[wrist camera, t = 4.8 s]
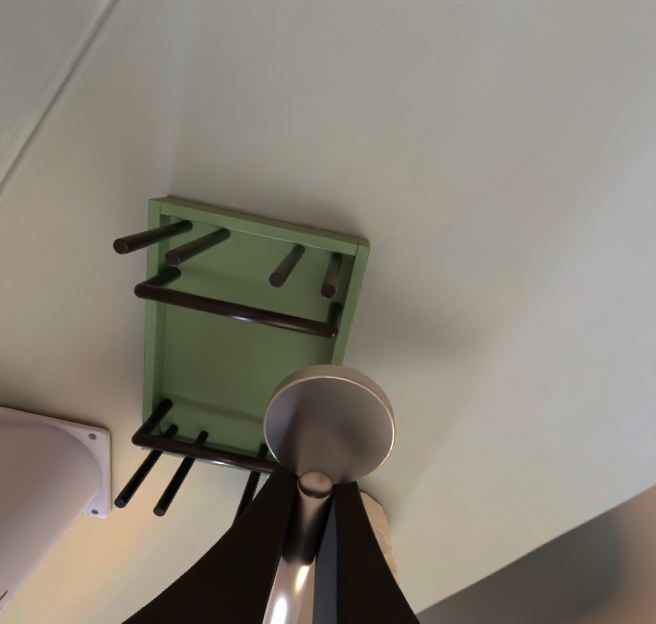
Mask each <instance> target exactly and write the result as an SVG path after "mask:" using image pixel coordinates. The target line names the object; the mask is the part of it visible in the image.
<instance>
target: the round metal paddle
mask: <svg viewBox="0 0 656 624" xmlns="http://www.w3.org/2000/svg"><path fill="white" fill-rule="evenodd" d="M263 431H264V436H265V440H266V443H267V445H268V448H269V449H270V451H271V453H272V454H273V456H274V457H275V459H276V460H277V461H278V462H279V463H280V464H281V465H282V466H283V467H285V468H286V469H287V470H288V471H290V472H292V473H293V474H295V475H297V476H299V478H298V481H297V488H296V492H295V497H294V501H293V506H292V510H291V515H290V519H289V524H288V529H287V533H286V538H285V542H284V547H283V551H282V555H281V559H280V562H279V566H278V571H277V575H276V580H275V584H274V589H273V593H272V598H271V602H270V607H269V611H268V616H267V620H266V624H297V621H298V617H299V614H300V610H301V606H302V603H303V599H304V595H305V591H306V588H307V584H308V580H309V577H310V573H311V569H312V566H313V562H314V558H315V554H316V551H317V547H318V543H319V540H320V536H321V532H322V529H323V525H324V521H325V517H326V514H327V510H328V506H329V503H330V499H331V495H332V492H333V487H334V484H345V483H350V482H354V481H357V480H360V479H362V478H365V477H366V476H368V475H370V474H372V473H373V472H374V471H376V470H377V469H378V468H379V467H380V466H381V465H382V464H383V463H384V462H385V461H386V459H387V458H388V456H389V454H390V453H391V450H392V448H393V445H394V441H395V422H394V414H393V410H392V406H391V404H390V401H389V399H388V397H387V396H386V394H385V393H384V391H383V390H382V389H381V388H380V386H379V385H377V384H376V383H375V382H374V381H373V380H372V379H370V378H369V377H368V376H366V375H364V374H363V373H361V372H359V371H356V370H354V369H352V368H348V367H345V366H339V365H329V364H324V365H315V366H310V367H307V368H303V369H301V370H299V371H297V372H294V373H293V374H291V375H290V376H288V377H287V378H285V379H284V380H283V381H282V382H281V383H280V384H279V385H278V386H277V388H276V389H275V391H274V392H273V394H272V396H271V398H270V401H269V403H268V406H267V408H266V411H265V415H264V420H263Z"/></svg>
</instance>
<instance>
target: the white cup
mask: <svg viewBox="0 0 656 624" xmlns="http://www.w3.org/2000/svg"><path fill="white" fill-rule="evenodd" d="M360 494H361V497H362V500H363V504H364V507H365V509H366V512H367V515H368V518H369V521H370V523H371V526H372V529H373V531H374V534H375V536H376V539H377V541H378V543H379V546H380V548H381V551H382V553H383V555H384V557H385V559H386V562H387V564H388V566H389V568H390V570H391V572H392V574H393V576H394V578H395V580H396V582H397V584H398V586H399V582H398V578H397V569H396V563H395V558H394V554H393V550H392V545H391V537H390V530H389V523H388V520H387V518H386V516H385V513H384V511H383V508H382V506H381V505H380V504H378V503H377V502H376V501H375V500H373V499H372V498H371V497H370V496H369V495H367V494H366V493H363V492H360ZM314 575H315V558H314V562H313V566H312V569H311V573H310V577H309V580H308V584H307V588H306V591H305V595H304V599H303V603H302V606H301V610H300V614H299V617H298V621H297V624H312V618H313V597H314Z"/></svg>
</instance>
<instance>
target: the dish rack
mask: <svg viewBox="0 0 656 624" xmlns="http://www.w3.org/2000/svg"><path fill="white" fill-rule="evenodd" d="M192 228H193V225H192V223H191V222H190V221H188V220H184V221H180V222H177V223H173V224H169V225H166V226H162V227H159V228H155V229H152V230H148V231H144V232H141V233H137V234H134V235H130V236H126V237H123V238H119V239H116V240H115V241H114V244H113V247H114V249H115V251H116V252H117V253H119V254H127V253H130V252H133V251H135V250H138V249H141V248H144V247H147V246H150V245H152V244H155V243H158V242H161V241H164V240H167V239H169V238H172V237H175V236H178V235H181V234H183V233H186V232H189V231H191V230H192ZM229 237H230V232H229V230H228V229H226V228H222V229H220V230H217V231H215V232H212V233H210V234H208V235H205V236H203V237H200V238H198V239H196V240H193V241H191V242H188V243H186V244H184V245H181V246H179V247H176V248H174V249H172V250H169V251H168V252H167V253H166V255H165V259H166V261H167V263H168V264H170V265H172V266H176V265H178V264H180V263H182V262H184V261H186V260H188V259H190V258H192V257H194V256H196V255H198V254H200V253H202V252H204V251H205V250H207V249H209V248H211V247H213V246H215V245H217V244H219V243H221V242H223V241H225V240H227V239H228V238H229ZM304 252H305V248H304V247H303V246H302V245H300V244H298V245H296V246H295V247H294V248H293V249H292V250H291V251H290V253H289V254H288V255H287V256H286V257H285V259H284V260H283V261H282V262H281V263H280V264H279V266H278V267H277V268H276V269H275V270H274V272H273V273H272V274H271V275H270V277H269V283H270V284H271V285H272V286H273V287H275V288H280V287H282V286H283V285H284V283H285V282H286V280H287V279H288V277H289V275H290V274H291V272H292V271H293V269H294V268H295V266H296V265H297V263H298V262H299V260H300V259H301V257H302V256H303V254H304ZM341 263H342V256H341V254H340V253H333V254H332V255H331V258H330V261H329V265H328V268H327V271H326V274H325V278H324V281H323V284H322V287H321V295H322V296H323V297H324V298H326V299H331V298H333V297H334V296H335V295H336V292H337V286H338V280H339V274H340V269H341ZM180 276H181V271H180V269H179V268H177V267H171V268H169V269H167V270H165V271H163V272H161V273H159V274H157V275H155V276H153V277H151V278H149V279H147V280H145V281H143V282H142V283H140V284H138V285H136V286H135V288H134V293H135V295H136V296H137V297H139V298H142V299H147V300H152V301H156V302H161V303H166V304H170V305H175V306H179V307H184V308H189V309H193V310H198V311H203V312H207V313H212V314H216V315H221V316H226V317H230V318H235V319H240V320H244V321H249V322H253V323H258V324H263V325H267V326H272V327H277V328H281V329H286V330H290V331H295V332H300V333H304V334H309V335H314V336H318V337H323V338H327V339H334V338H336V337H337V336H338V334H339V326H340V318H341V309H342V307H341V304H340V303H338V302H332V303H331V304H330V305H329V309H328V313H327V318H326V323H325V322H320V321H315V320H311V319H306V318H301V317H297V316H292V315H288V314H283V313H278V312H274V311H269V310H264V309H260V308H255V307H251V306H246V305H241V304H237V303H232V302H227V301H223V300H218V299H214V298H209V297H204V296H200V295H195V294H190V293H186V292H181V291H177V290H172V289H167V288H163V287H165V286H167V285H168V284H170V283H172V282H173V281H175V280H177V279H178V278H180ZM172 407H173V403H172V401H171V400H169V399H165V400H163V401H162V402H161V403H160V405H159V406H158V407H157V408H156V409H155V411H154V412H153V413H152V414H151V415H150V416H149V418H148V419H147V420H146V421H145V422H144V423H143V425H142V426H141V427H140V428H139V429H138V431H137V432H136V433H135V434H134V435H133V437H132V443H133V444H134V445H136V446H140V447H145V448H150V449H152V451H151V452H150V453H149V455H148V456H147V458H146V459H145V460H144V462H143V463H142V464H141V466H140V467H139V468H138V470H137V471H136V472H135V474H134V475H133V477H132V478H131V479H130V481H129V482H128V483H127V485H126V486H125V487H124V489H123V490H122V491H121V493H120V494H119V495H118V497H117V498H116V500H115V501H114V504H115V505H116V506H117V507H118V508H124V507H125V506H126V505H127V503H128V502H129V501H130V499H131V498H132V496H133V495H134V493H135V492H136V490H137V489H138V488H139V486H140V485H141V483H142V482H143V480H144V479H145V477H146V476H147V475H148V473H149V472H150V470H151V469H152V467H153V466H154V465H155V463H156V462H157V460H158V459H159V457H160V456H161V454H162V453H163V452H168V453H173V454H178V455H182V456H186V457H185V458H184V460H183V462H182V463H181V465H180V467H179V468H178V470H177V471H176V473H175V475H174V476H173V478H172V480H171V481H170V483H169V485H168V486H167V488H166V490H165V491H164V493H163V495H162V496H161V498H160V500H159V501H158V503H157V505H156V506H155V508H154V510H153V512H154V514H155V515H157V516H163V515H165V513H166V511H167V509H168V508H169V506H170V504H171V502H172V500H173V499H174V497H175V495H176V493H177V492H178V490H179V488H180V486H181V484H182V483H183V481H184V479H185V477H186V476H187V474H188V472H189V470H190V468H191V467H192V465H193V463H194V461H195V460H196V459H201V460H206V461H210V462H215V463H219V464H224V465H229V466H233V467H238V468H243V469H247V470H251V473H250V476H249V479H248V482H247V484H246V487H245V490H244V493H243V496H242V498H241V501H240V504H239V507H238V510H237V513H236V515H235V518H234V521H233V524H234V523H235V522H236V521H237V519H238V518H239V517H240V516H241V514H242V513H243V512H244V511H245V509H246V508H247V507H248V506H249V504H250V503H251V502H252V500H253V497H254V494H255V491H256V488H257V485H258V481H259V478H260V475H261V473H266V474H271V473H272V472H273V470H274V468H275V467H276V465H277V463H278V462H276V461H272V460H267V459H266V456H267V453H268V450H269V448H268V445H266V444H262V445H261V446H260V448H259V451H258V453H257V456H256V457H253V456H248V455H244V454H239V453H235V452H230V451H225V450H221V449H216V448H211V447H207V446H203V445H204V444H205V442H206V440H207V438H208V436H209V434H208V433H207V432H206V431H201V432H200V433H199V435H198V437H197V438H196V440H195V442H194V443H188V442H183V441H179V440H174V439H173V437H174V436H175V434H176V433H177V431H178V426H177V425H175V424H172V425H170V426H169V428H168V429H167V430H166V432H165V433H164V435H163V436H162V437H160V436H156V435H151V433H152V432H153V431H154V430H155V428H156V427H157V426H158V424H159V423H160V422H161V421H162V419H163V418H164V417H165V416H166V414H167V413H168V412H169V410H170V409H171V408H172ZM233 524H232V525H233Z"/></svg>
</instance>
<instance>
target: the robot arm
mask: <svg viewBox="0 0 656 624" xmlns="http://www.w3.org/2000/svg"><path fill="white" fill-rule="evenodd" d="M94 434H95V435H94ZM298 478H299V476H297V475H295V474H293V473H292V472H290V471H288V470H287V469H286V468H285V467H283V466H282V465H281V464H280V463H279V462H278V463H277V465H276V467H275V468H274V470H273V472H272V473H271V475H270V476H269V478H268V480H267V481H266V482H265V484H264V485H263V487H262V488H261V490H260V491H259V493H258V494H257V495H256V497H255V498H254V499H253V501H252V502H251V503H250V504H249V506H248V507H247V508H246V509H245V511H244V512H243V513H242V514H241V516H240V517H239V518H238V519H237V521H236V522H235V523H234V524H233V525H232V526H231V527H230V529H229V530H228V531H227V532H226V533H225V534H224V535H223V536H222V537H221V538H220V539H219V540H218V542H217V543H216V544H215V545H214V546H213V547H212V548H211V549H210V550H209V551H208V552H207V553H206V554H205V555H203V556H202V557H201V558H200V559H199V560H198V561H197V562H196V563H195V564H194V565H193V566H192V567H191V568H190V569H189V570H188V571H187V572H185V573H184V574H183V575H182V576H181V577H180V578H178V579H177V580H176V581H175V582H174V583H172V584H171V585H170V586H169V587H168V588H167V589H165V590H164V591H163V592H162V593H161V594H160V595H158V596H157V597H156V598H155V599H153V600H152V601H151V602H150V603H148V604H147V605H146V606H144V607H143V608H142V609H140V610H139V611H138V612H136V613H135V614H134V615H132V616H131V617H130V618H128V619H127V620H126V621H124V622H123V623H122V624H262V623H263V619H264V615H265V611H266V607H267V603H268V600H269V596H270V593H271V590H272V586H273V583H274V579H275V576H276V572H277V569H278V566H279V562H280V559H281V555H282V551H283V547H284V542H285V538H286V533H287V529H288V524H289V519H290V515H291V510H292V506H293V501H294V497H295V492H296V488H297V481H298ZM110 512H111V487H110V434H109V432H108V431H107V430H105V429H102V428H98V427H93V426H88V425H84V424H79V423H74V422H70V421H65V420H60V419H56V418H51V417H47V416H42V415H37V414H33V413H28V412H23V411H19V410H14V409H9V408H5V407H0V612H1V611H2V610H3V609H4V607H5V606H6V605H7V604H8V603H9V601H10V600H11V599H12V598H13V596H14V595H15V594H16V593H17V591H18V590H19V589H20V588H21V586H22V585H23V584H24V583H25V582H26V580H27V579H28V578H29V577H30V575H31V574H32V573H33V572H34V570H35V569H36V568H37V567H38V565H39V564H40V563H41V562H42V561H43V559H44V558H45V557H46V556H47V554H48V553H49V552H50V551H51V549H52V548H53V547H54V546H55V544H56V543H57V542H58V541H59V540H60V538H61V537H62V536H63V535H64V533H65V532H66V531H67V530H68V528H69V527H70V526H71V525H72V524H73V522H74V521H75V520H76V519H77V517H78V516H79V515H80V514H86V515H90V516H95V517H100V518H106V517H107V516H108V515H109V514H110ZM312 624H420V622H419V621H418V619H417V617H416V616H415V614H414V612H413V611H412V609H411V608H410V606H409V604H408V602H407V601H406V599H405V597H404V595H403V593H402V591H401V589H400V588H399V586H398V584H397V582H396V580H395V578H394V576H393V574H392V572H391V570H390V568H389V566H388V564H387V562H386V559H385V557H384V555H383V553H382V551H381V548H380V546H379V543H378V541H377V539H376V536H375V534H374V531H373V529H372V526H371V523H370V521H369V518H368V515H367V512H366V509H365V507H364V504H363V500H362V497H361V494H360V491H359V487H358V483H357V481H354V482H350V483H345V484H334V487H333V492H332V495H331V499H330V503H329V506H328V510H327V514H326V517H325V521H324V525H323V529H322V532H321V536H320V540H319V543H318V547H317V551H316V554H315V575H314V597H313V618H312Z"/></svg>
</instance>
